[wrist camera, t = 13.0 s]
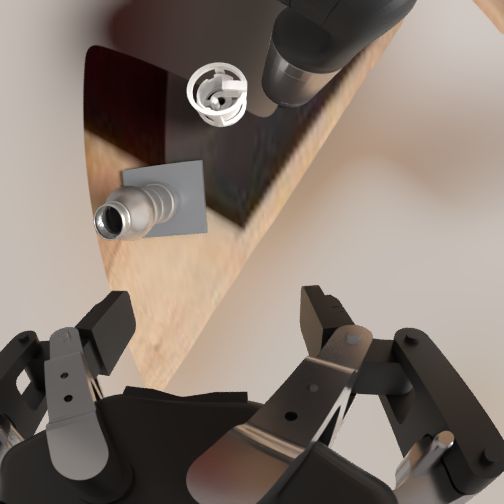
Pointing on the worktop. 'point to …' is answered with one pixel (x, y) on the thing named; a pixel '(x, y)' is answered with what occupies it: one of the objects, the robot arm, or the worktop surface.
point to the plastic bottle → (135, 211)
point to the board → (189, 192)
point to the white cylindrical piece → (219, 95)
